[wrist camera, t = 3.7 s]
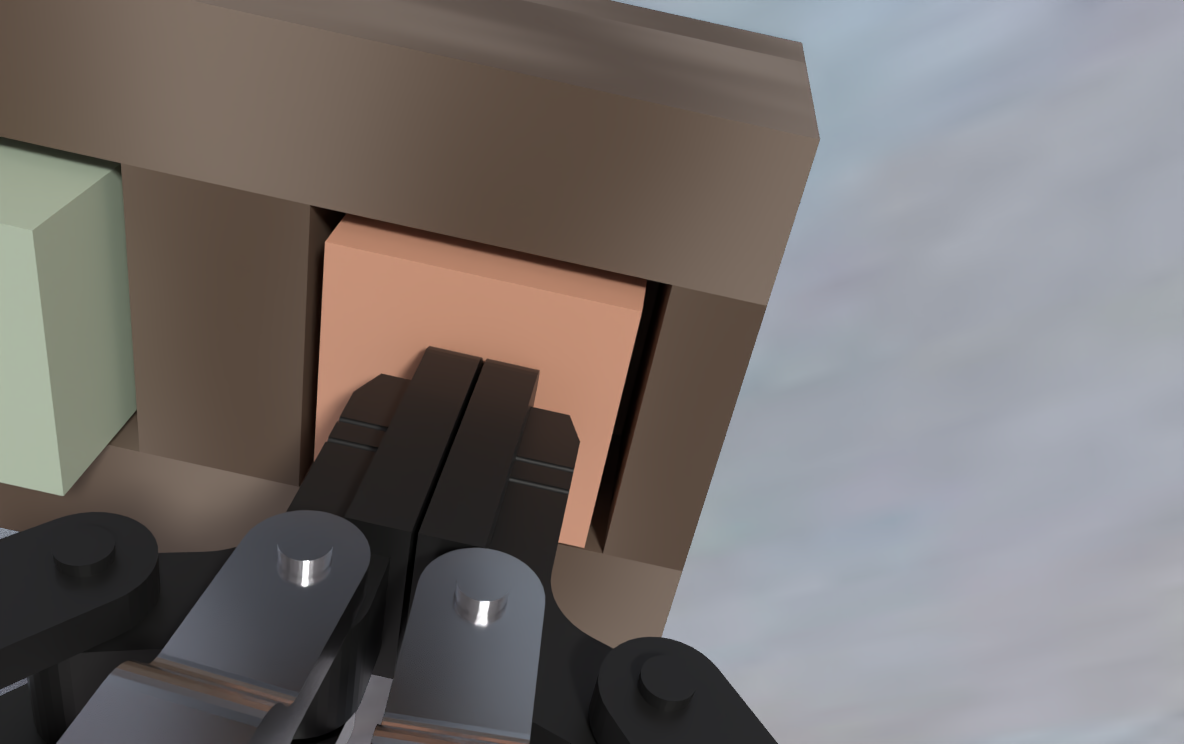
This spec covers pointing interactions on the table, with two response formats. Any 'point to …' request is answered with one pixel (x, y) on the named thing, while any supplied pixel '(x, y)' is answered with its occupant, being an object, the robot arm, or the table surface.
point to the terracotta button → (479, 329)
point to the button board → (419, 200)
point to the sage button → (61, 314)
